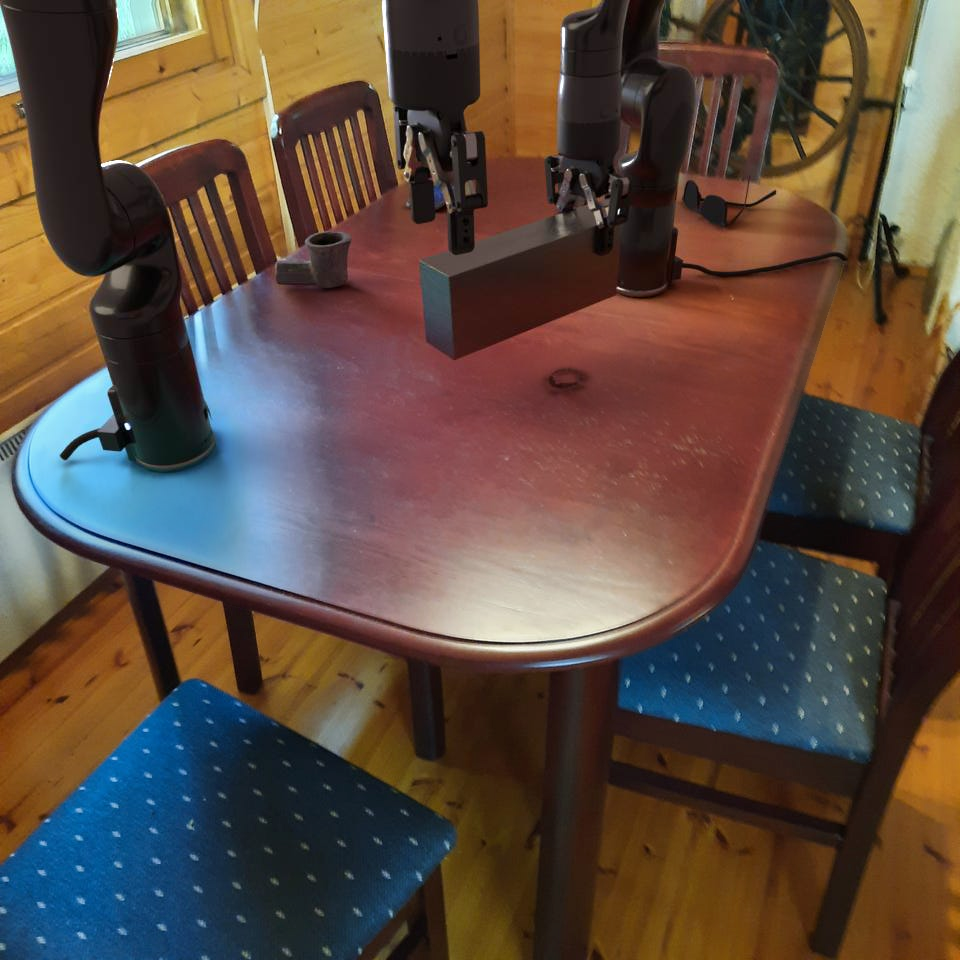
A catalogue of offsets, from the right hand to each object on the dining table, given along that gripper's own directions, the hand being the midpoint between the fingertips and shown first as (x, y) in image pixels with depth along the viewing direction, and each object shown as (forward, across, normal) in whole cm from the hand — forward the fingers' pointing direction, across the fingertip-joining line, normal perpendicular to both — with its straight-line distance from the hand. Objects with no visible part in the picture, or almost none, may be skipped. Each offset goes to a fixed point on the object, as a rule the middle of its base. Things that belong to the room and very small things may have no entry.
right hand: (585, 245), depth 112 cm
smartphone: (+16, +67, -21) cm, 72 cm away
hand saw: (+17, +49, -44) cm, 68 cm away
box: (+7, 0, +10) cm, 12 cm away
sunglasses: (+18, +24, -60) cm, 67 cm away
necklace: (+15, -5, +8) cm, 18 cm away
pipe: (+15, +44, +19) cm, 50 cm away
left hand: (-15, -16, +32) cm, 39 cm away
